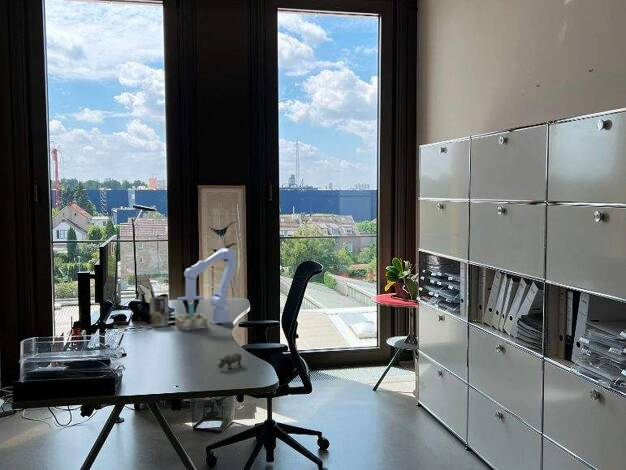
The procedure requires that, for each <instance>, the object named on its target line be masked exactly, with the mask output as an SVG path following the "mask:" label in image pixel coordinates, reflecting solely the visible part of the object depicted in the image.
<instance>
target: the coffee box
mask: <svg viewBox="0 0 626 470" xmlns="http://www.w3.org/2000/svg"><path fill="white" fill-rule="evenodd" d="M169 313H170V312H169V296H152V297H151V298H149V317H150V318H149V319H150V322H149V323H150V325H149V327H166V326H167V327H168V325H169V324H170V323H169V322H170V320H169V319H170V318H169V317H170V316H169Z"/></svg>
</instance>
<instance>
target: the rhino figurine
mask: <svg viewBox="0 0 626 470" xmlns="http://www.w3.org/2000/svg"><path fill="white" fill-rule="evenodd" d="M242 359H243V358H242V354H241V353H239V352H234V353H232V354H227V355H224V356H223V358H218V360H219V361H220V362H219V364H216V365H217V367H219V369H221V370H222V369H223V368H224V367H225V366H229V368H232V364H236V363H237V364H238V365H241V363H242V362H241V361H242ZM238 365H237V366H238Z"/></svg>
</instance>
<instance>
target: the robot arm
mask: <svg viewBox="0 0 626 470" xmlns="http://www.w3.org/2000/svg"><path fill="white" fill-rule="evenodd" d="M236 259H237V253H236V251H235V250H234V249H233V248H226V247H222V248H220V249H219V250H217V251H216V252H214V253H213V254H212V255H210V256H209V257H207V258H206V259H205V260H198V261H197V263H195V264H194V265H191V266H190V267H188V268H186V269H185V270H184V272H183V276H184V277H185V296H180V297H179V296H178V297H177V302H182V304H183V305H184V308H185V314H186V315H188V304H189V301H193V304H194V314H197V313H196V312H197V308H198V306H199V303H200V301H203V300H204V299H205V296H204V295H197V278H198V276H199V275H200V274H201V273H203V272H204V271H206V270H208V266H209V265H212V264H213V263H215V262H216V261H219V260H222V261H223V262H224V264H225V268H224V271H223V273H222V277H221V280H220V282H219V285H218V288H217V290H216V291H214V293H213V295H212V296H211V298H210V299H209V303H210V304H211V307H212V309H211V312H212V313H211V314H212V316H211V317H212V319H211V320H210V321H211V322H212V325H218V324H217V323H223V322H229V323H230V310H229V307H227V302H228V300H227V299H228V295H227V292H228V289H229V286H230V283H231V281H232V278H233V275H234V272H235V269H236V266H237V260H236ZM211 322H210V323H211ZM223 324H224V323H223Z"/></svg>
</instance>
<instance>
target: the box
mask: <svg viewBox="0 0 626 470" xmlns="http://www.w3.org/2000/svg"><path fill="white" fill-rule="evenodd" d="M174 318H175V319H174V321H175V326H176V327H177V328H178V330H179V331H180V332H181V331H190V329H192V330H202V329H201V328H204V329H208V318H207V317H206V316H204V314H203V313H194V317H188V314H177V315H175V316H174Z"/></svg>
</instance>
